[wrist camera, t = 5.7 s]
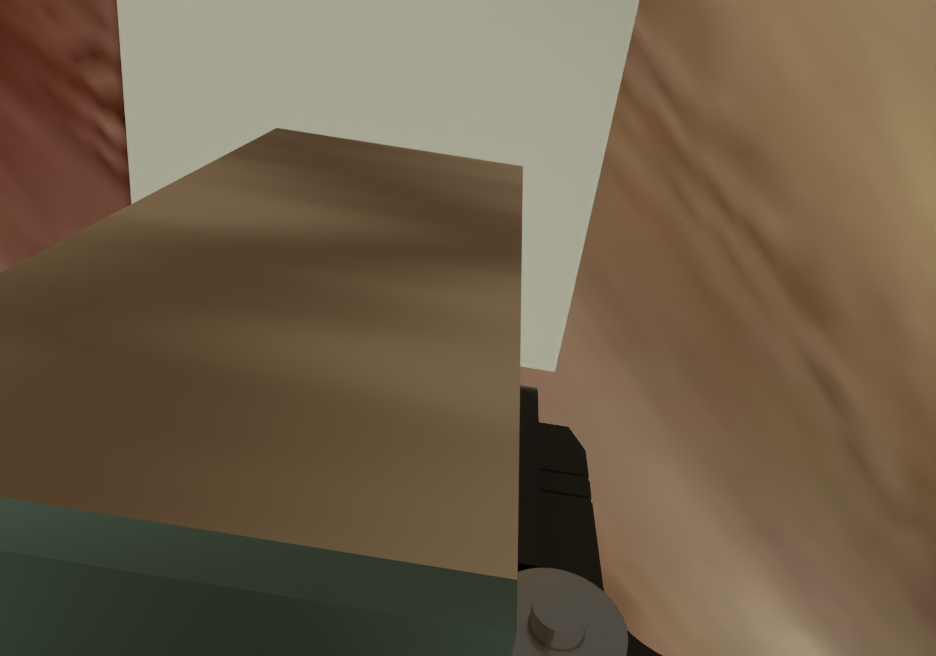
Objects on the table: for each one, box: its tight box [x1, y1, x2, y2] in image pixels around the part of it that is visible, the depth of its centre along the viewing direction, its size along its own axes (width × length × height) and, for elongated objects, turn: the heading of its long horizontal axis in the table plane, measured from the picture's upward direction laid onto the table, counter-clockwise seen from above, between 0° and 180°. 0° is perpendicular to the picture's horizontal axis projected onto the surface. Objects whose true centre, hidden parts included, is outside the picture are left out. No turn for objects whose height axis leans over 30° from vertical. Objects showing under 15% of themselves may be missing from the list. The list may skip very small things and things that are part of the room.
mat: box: [117, 0, 639, 372], centre depth 26 cm, size 18×16×1 cm
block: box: [0, 128, 523, 656], centre depth 9 cm, size 4×7×9 cm, turn 172°
